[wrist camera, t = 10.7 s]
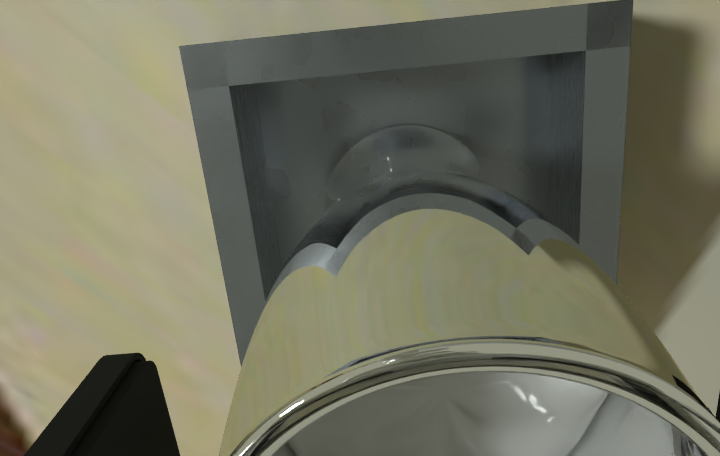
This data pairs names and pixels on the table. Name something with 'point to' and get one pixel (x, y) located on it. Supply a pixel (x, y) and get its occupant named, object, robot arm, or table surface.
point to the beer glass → (451, 328)
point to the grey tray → (410, 123)
